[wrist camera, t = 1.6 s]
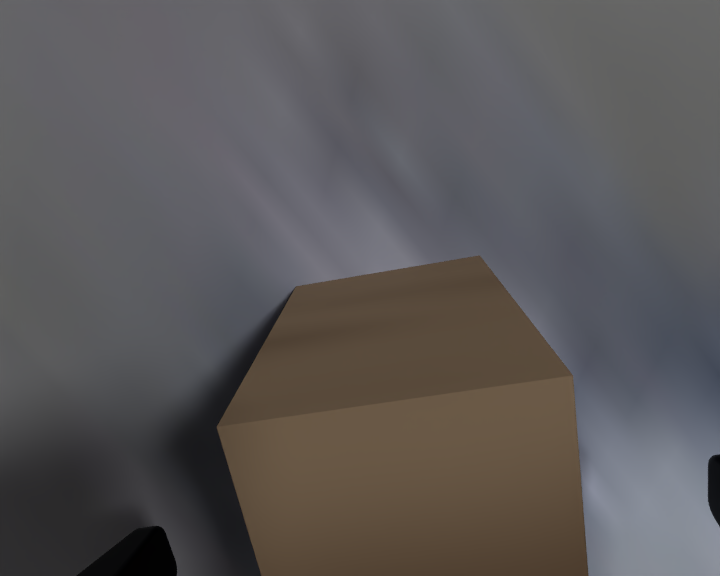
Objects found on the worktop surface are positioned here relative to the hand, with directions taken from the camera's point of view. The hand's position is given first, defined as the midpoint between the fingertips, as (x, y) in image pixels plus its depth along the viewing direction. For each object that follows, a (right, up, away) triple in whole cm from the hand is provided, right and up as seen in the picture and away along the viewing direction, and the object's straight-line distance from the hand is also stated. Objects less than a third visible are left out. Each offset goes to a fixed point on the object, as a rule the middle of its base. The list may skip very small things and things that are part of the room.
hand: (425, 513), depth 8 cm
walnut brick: (0, +1, +2) cm, 2 cm away
